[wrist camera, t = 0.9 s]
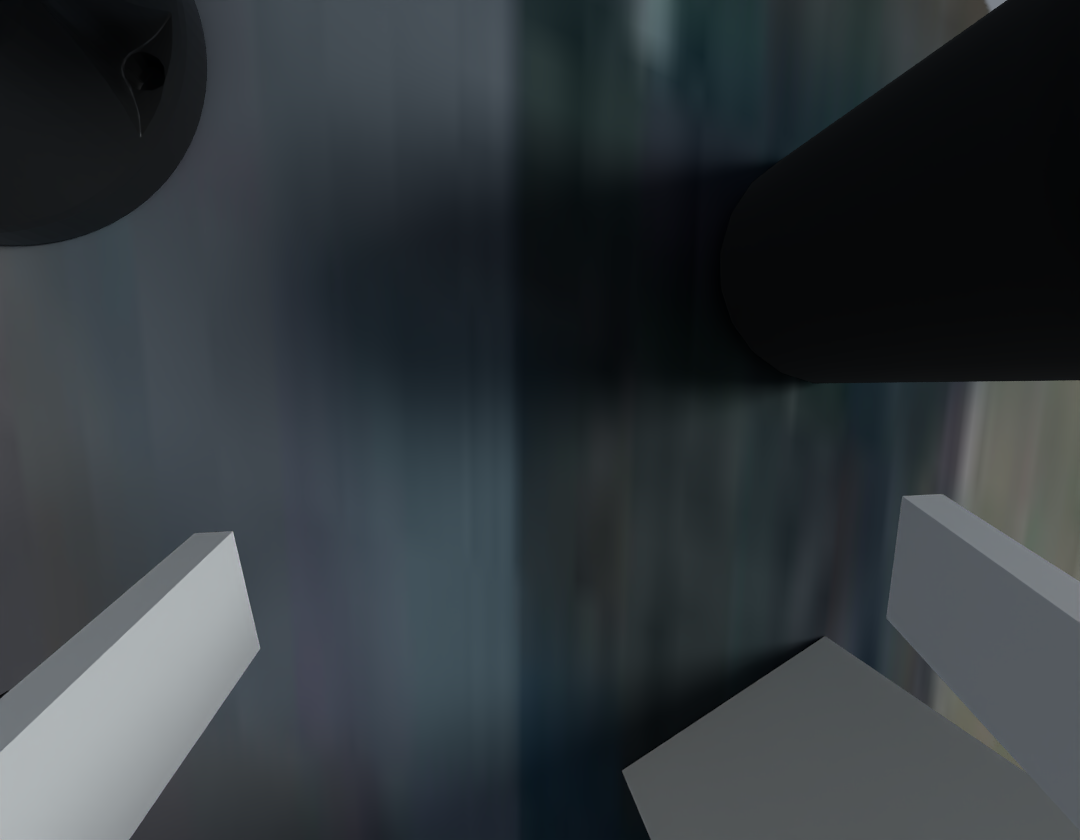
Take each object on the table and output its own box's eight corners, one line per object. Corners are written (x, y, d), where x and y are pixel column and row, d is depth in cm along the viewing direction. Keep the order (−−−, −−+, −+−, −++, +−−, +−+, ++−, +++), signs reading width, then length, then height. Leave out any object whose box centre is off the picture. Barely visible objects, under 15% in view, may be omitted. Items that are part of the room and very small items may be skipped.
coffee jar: (858, 420, 29) (1482, 471, 11) (671, 324, 28) (1054, 211, 10) (948, 224, 29) (1708, -30, 11) (766, 118, 28) (1319, -366, 10)
